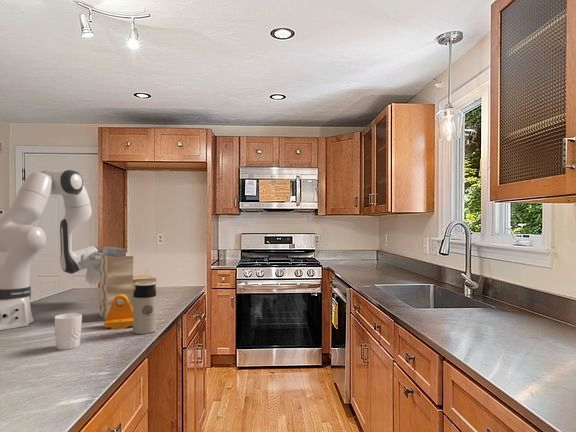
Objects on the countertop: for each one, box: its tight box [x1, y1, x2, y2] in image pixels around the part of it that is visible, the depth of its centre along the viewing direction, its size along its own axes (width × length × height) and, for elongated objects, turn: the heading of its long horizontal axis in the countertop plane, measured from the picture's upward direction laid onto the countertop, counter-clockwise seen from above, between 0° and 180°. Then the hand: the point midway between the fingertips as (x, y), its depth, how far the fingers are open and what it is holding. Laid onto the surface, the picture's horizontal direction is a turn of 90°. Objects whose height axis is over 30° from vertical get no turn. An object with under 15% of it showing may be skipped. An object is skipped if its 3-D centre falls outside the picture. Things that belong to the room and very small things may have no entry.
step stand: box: [99, 254, 157, 320], centre depth 179 cm, size 12×20×26 cm, turn 129°
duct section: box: [102, 246, 127, 257], centre depth 179 cm, size 20×4×3 cm, turn 39°
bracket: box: [103, 294, 133, 330], centre depth 159 cm, size 11×7×12 cm, turn 108°
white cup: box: [54, 312, 83, 351], centre depth 133 cm, size 8×8×10 cm
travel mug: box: [132, 282, 157, 335], centre depth 152 cm, size 8×8×18 cm
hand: (108, 251), depth 185 cm, fingers open, 8 cm apart
